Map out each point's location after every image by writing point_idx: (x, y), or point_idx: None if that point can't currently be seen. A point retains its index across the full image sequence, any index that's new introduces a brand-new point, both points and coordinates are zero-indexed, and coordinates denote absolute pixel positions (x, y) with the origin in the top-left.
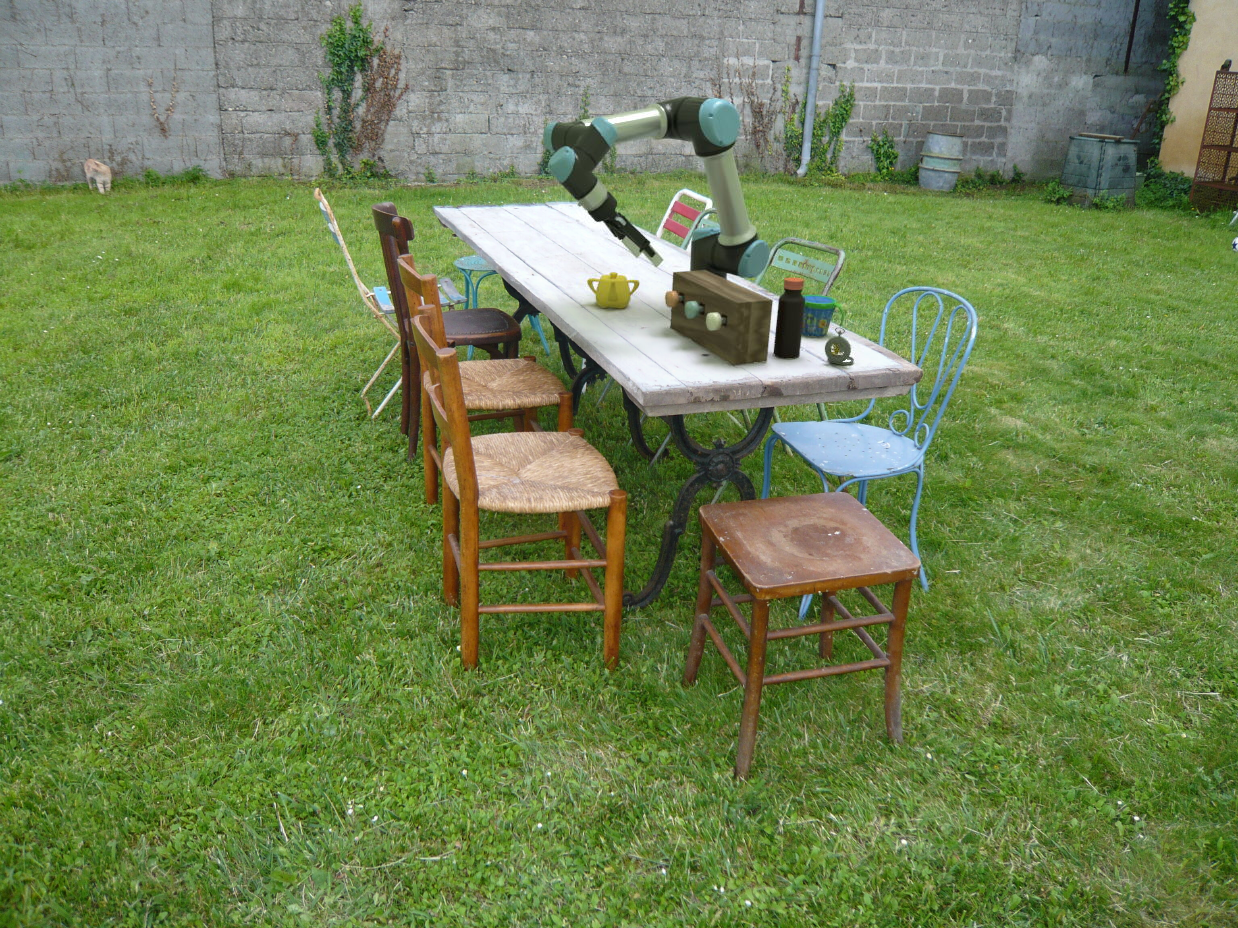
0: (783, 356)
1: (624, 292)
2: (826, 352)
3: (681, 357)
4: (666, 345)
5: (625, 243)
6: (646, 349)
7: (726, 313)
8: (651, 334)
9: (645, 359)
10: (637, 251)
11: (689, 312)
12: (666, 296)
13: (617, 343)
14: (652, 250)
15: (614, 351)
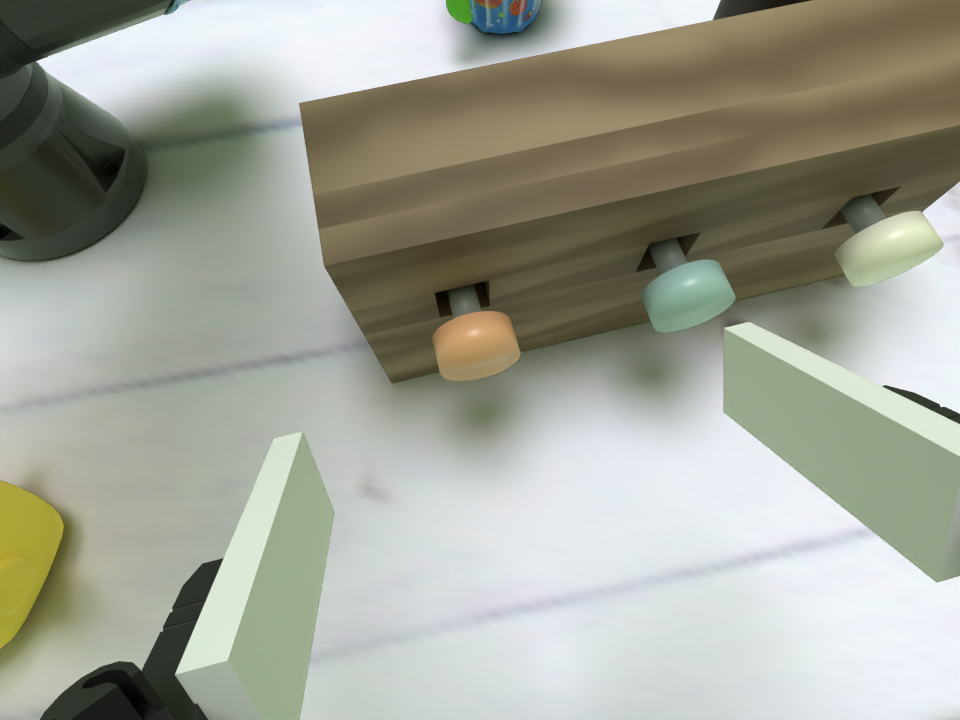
0: None
1: (4, 518)
2: None
3: None
4: (624, 443)
5: (292, 693)
6: (684, 535)
7: (899, 181)
8: (470, 473)
9: (825, 567)
10: (310, 504)
11: (701, 314)
12: (455, 366)
13: (601, 654)
14: (956, 418)
15: (726, 693)
